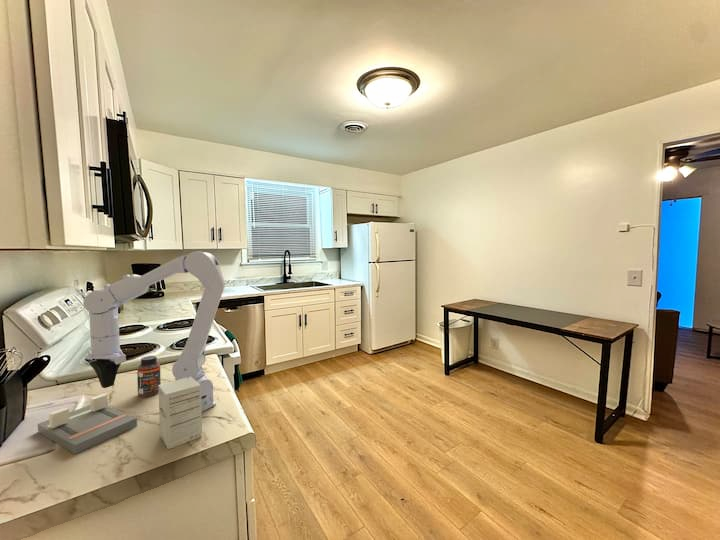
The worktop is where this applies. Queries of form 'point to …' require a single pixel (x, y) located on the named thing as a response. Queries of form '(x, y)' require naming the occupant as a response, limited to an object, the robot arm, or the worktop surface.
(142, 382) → the supplement bottle
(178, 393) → the supplement box
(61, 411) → the block
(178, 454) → the worktop surface
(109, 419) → the board
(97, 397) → the block
